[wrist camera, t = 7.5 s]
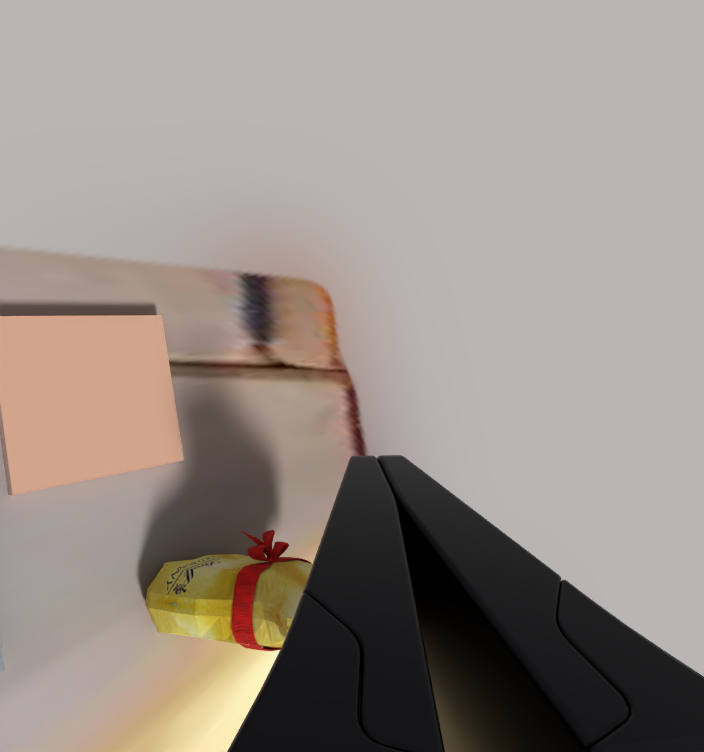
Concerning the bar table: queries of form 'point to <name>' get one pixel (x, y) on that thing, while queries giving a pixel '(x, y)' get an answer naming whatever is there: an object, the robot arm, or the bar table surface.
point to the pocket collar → (1, 658)
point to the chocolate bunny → (231, 595)
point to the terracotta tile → (84, 398)
